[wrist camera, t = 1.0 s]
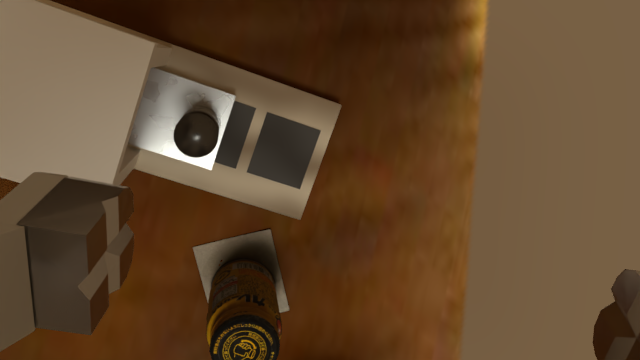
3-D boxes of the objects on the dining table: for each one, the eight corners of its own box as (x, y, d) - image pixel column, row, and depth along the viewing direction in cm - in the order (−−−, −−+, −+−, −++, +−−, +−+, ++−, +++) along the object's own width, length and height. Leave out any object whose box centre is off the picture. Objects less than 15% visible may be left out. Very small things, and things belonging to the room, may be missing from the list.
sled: (211, 167, 50) (208, 186, 43) (-88, 72, 45) (-145, 76, 38) (235, 95, 49) (236, 102, 42) (-68, -11, 44) (-123, -22, 37)
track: (298, 215, 54) (300, 220, 52) (-206, 59, 45) (-221, 59, 44) (338, 103, 52) (341, 105, 51) (-177, -81, 43) (-192, -86, 42)
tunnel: (135, 169, 49) (105, 207, 37) (-12, 124, 47) (-96, 149, 35) (174, 45, 48) (155, 43, 36) (23, -9, 45) (-53, -31, 33)
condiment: (215, 328, 55) (210, 401, 44) (192, 246, 53) (181, 301, 42) (289, 309, 56) (304, 376, 44) (270, 227, 54) (280, 276, 42)
